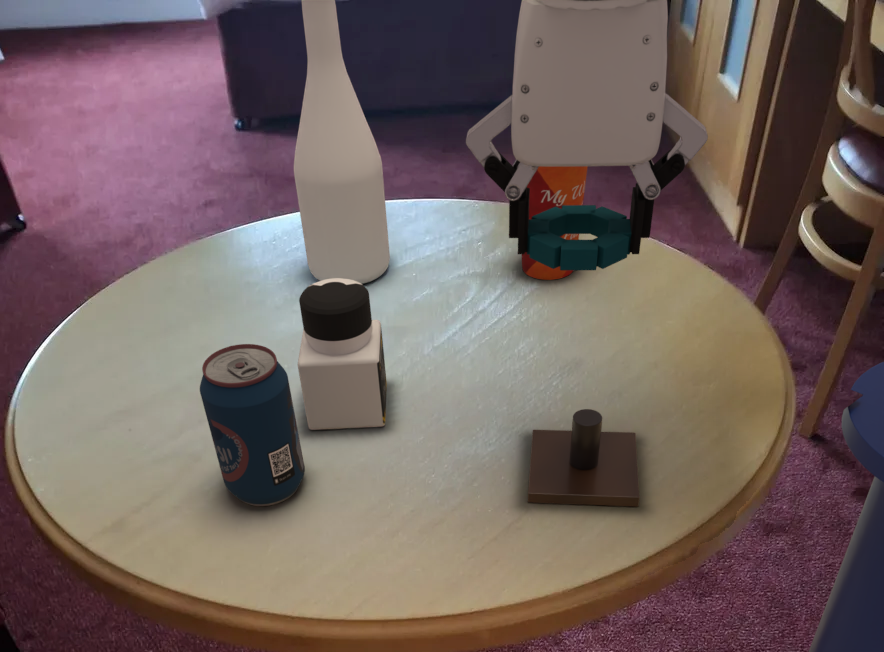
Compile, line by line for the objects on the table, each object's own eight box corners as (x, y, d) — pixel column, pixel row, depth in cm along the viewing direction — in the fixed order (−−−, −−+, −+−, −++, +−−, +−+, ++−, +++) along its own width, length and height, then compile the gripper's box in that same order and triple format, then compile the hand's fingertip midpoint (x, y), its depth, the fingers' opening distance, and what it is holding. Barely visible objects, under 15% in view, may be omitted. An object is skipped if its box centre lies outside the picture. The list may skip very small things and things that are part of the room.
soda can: (211, 485, 79) (177, 363, 70) (277, 451, 82) (252, 330, 74) (256, 522, 75) (225, 398, 67) (323, 485, 78) (302, 362, 70)
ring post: (634, 441, 81) (641, 387, 77) (638, 507, 74) (646, 452, 70) (532, 438, 82) (534, 385, 78) (527, 502, 75) (529, 448, 72)
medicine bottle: (385, 428, 84) (373, 307, 75) (308, 431, 84) (287, 311, 75) (387, 385, 89) (375, 267, 80) (314, 388, 89) (295, 271, 80)
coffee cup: (549, 292, 100) (556, 148, 90) (497, 268, 105) (497, 129, 94) (600, 266, 104) (612, 125, 93) (547, 244, 108) (553, 108, 98)
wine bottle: (326, 248, 110) (285, -51, 89) (400, 254, 108) (377, -50, 87) (297, 285, 104) (246, -27, 83) (376, 292, 102) (344, -26, 81)
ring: (626, 225, 71) (629, 204, 70) (631, 270, 66) (633, 249, 64) (528, 225, 72) (529, 205, 71) (525, 270, 66) (525, 249, 65)
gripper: (734, -52, 58) (691, 224, 70) (460, -42, 60) (466, 225, 72) (750, -23, 53) (700, 270, 65) (449, -13, 54) (458, 269, 67)
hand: (577, 245), depth 69 cm, fingers closed on ring, 7 cm apart
